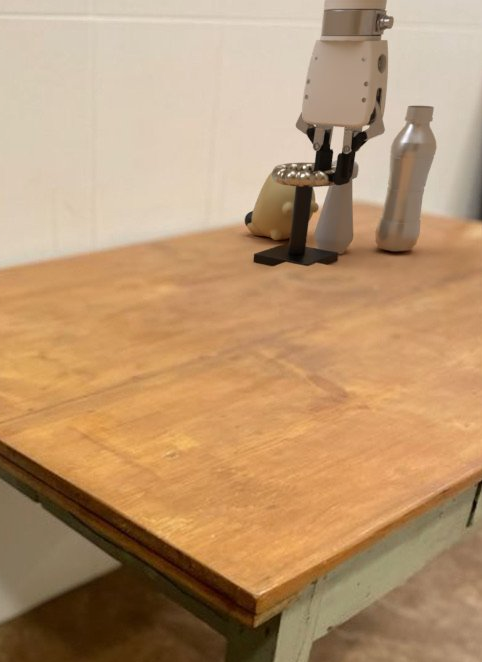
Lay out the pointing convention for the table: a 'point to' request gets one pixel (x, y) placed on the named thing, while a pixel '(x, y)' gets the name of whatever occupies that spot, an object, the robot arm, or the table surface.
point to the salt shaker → (336, 217)
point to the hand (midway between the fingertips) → (331, 181)
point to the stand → (297, 238)
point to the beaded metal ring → (303, 175)
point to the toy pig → (275, 210)
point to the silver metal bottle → (407, 181)
